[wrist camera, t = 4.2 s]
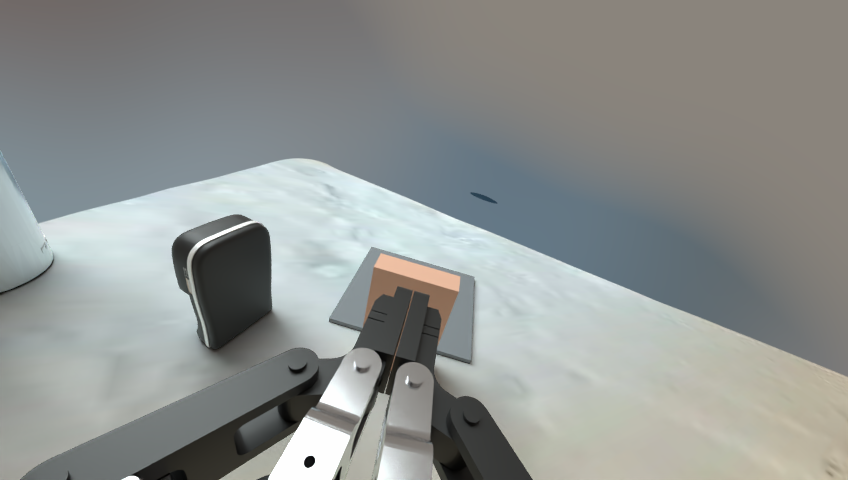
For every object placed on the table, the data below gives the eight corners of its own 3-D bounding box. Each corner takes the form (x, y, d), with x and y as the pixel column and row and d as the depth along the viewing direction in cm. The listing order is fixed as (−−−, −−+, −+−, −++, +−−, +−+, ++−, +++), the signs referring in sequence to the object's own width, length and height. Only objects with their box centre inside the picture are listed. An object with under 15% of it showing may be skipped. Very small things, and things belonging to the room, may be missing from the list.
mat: (469, 363, 33) (470, 360, 33) (329, 321, 34) (329, 318, 34) (473, 279, 46) (474, 276, 46) (371, 249, 47) (371, 246, 46)
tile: (424, 380, 31) (458, 291, 24) (356, 360, 31) (373, 266, 24) (427, 361, 33) (460, 274, 26) (364, 342, 33) (381, 251, 26)
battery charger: (249, 293, 34) (240, 203, 28) (275, 309, 34) (272, 219, 28) (184, 334, 29) (156, 232, 23) (213, 354, 28) (192, 253, 22)
